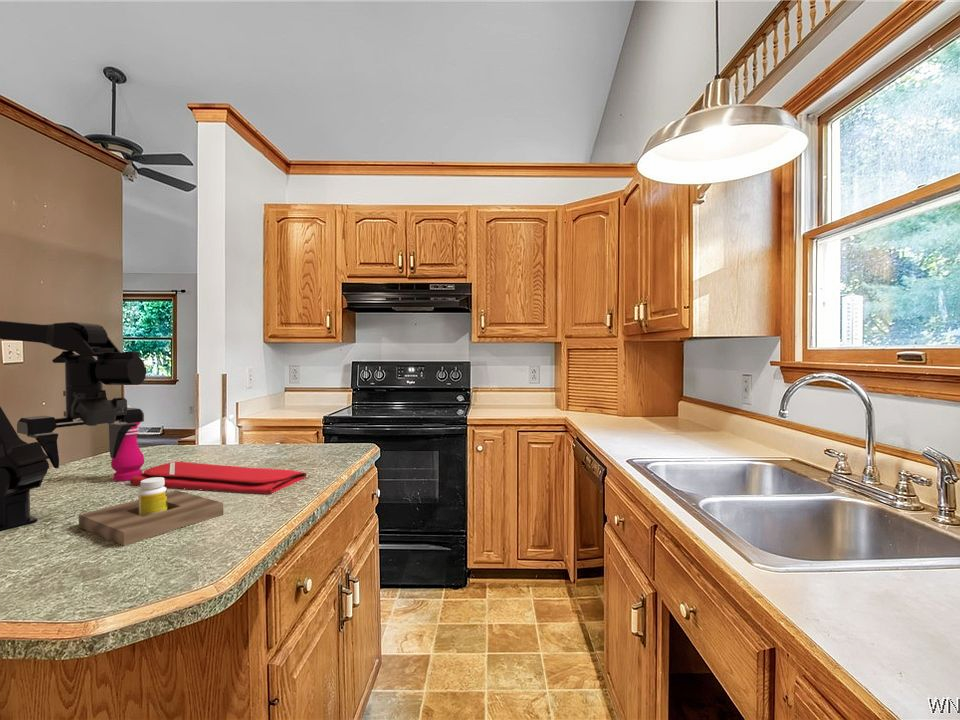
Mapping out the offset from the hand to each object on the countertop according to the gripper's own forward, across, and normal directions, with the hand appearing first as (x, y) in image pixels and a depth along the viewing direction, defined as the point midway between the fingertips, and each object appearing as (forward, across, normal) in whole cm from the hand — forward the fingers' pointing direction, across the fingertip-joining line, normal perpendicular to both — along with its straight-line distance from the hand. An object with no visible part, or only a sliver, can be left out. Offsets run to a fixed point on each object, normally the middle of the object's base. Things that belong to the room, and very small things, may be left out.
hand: (85, 462), depth 93 cm
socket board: (+12, +7, -11) cm, 18 cm away
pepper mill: (+12, +20, +30) cm, 38 cm away
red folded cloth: (+13, +30, +5) cm, 33 cm away
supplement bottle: (+12, +7, -11) cm, 18 cm away
